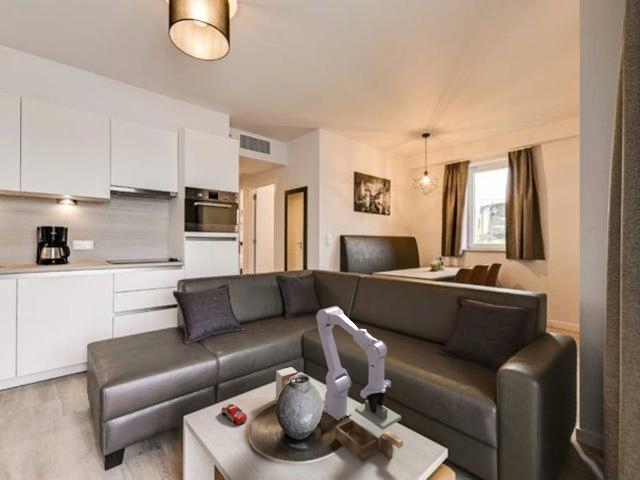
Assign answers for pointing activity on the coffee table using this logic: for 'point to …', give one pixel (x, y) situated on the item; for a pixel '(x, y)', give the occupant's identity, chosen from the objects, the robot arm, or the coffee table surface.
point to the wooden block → (393, 439)
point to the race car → (234, 414)
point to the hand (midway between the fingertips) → (375, 410)
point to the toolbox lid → (378, 415)
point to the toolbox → (362, 441)
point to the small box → (283, 378)
